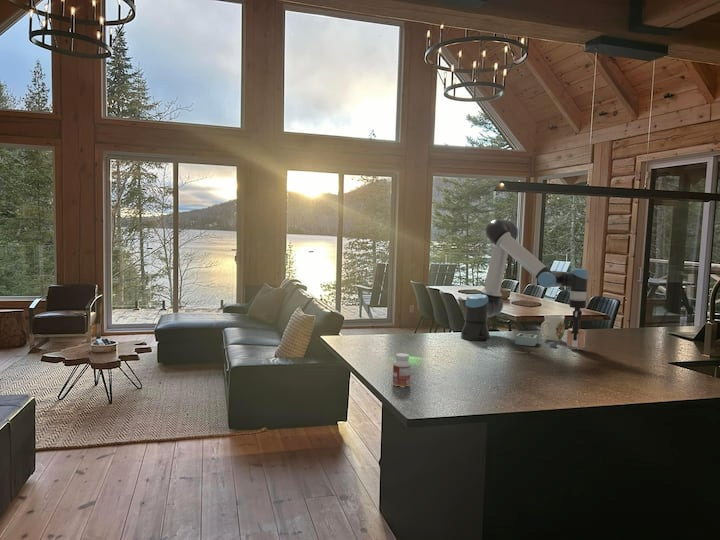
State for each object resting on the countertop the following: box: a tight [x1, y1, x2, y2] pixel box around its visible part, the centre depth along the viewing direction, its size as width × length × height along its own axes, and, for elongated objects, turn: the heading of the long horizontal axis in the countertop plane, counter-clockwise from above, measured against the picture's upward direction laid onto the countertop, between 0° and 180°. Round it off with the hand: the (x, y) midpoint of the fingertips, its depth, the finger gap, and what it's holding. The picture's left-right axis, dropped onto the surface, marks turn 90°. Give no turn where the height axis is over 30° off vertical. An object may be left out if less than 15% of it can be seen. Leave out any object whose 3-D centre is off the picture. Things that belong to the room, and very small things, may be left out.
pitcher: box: [540, 314, 566, 342], centre depth 282 cm, size 11×18×14 cm, turn 122°
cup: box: [566, 327, 586, 348], centre depth 261 cm, size 8×8×8 cm
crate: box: [515, 332, 538, 347], centre depth 269 cm, size 9×9×5 cm
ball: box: [549, 341, 557, 349], centre depth 263 cm, size 3×3×3 cm
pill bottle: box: [392, 352, 411, 387], centre depth 187 cm, size 6×6×11 cm
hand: (575, 345), depth 262 cm, fingers closed on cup, 8 cm apart
